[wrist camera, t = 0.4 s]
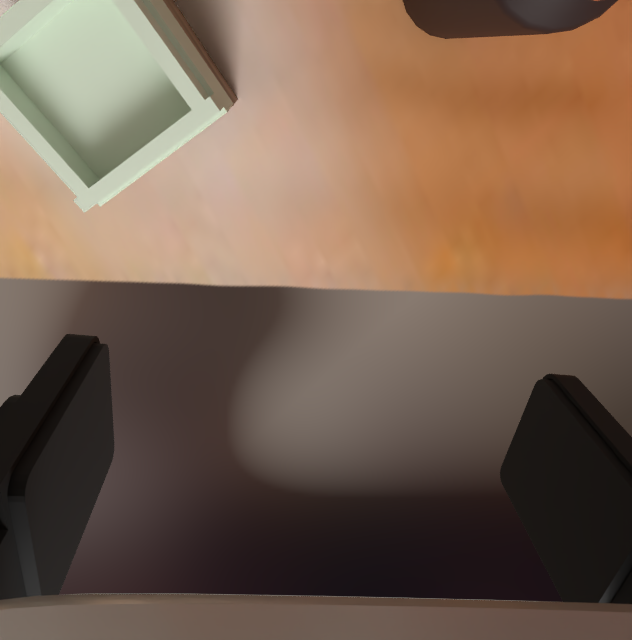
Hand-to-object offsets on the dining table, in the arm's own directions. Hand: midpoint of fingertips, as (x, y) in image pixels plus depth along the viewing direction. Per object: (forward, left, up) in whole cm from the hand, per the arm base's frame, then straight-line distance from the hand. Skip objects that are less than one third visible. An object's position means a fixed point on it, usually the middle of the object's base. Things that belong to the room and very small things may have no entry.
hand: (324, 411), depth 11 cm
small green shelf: (+5, -10, -25) cm, 27 cm away
